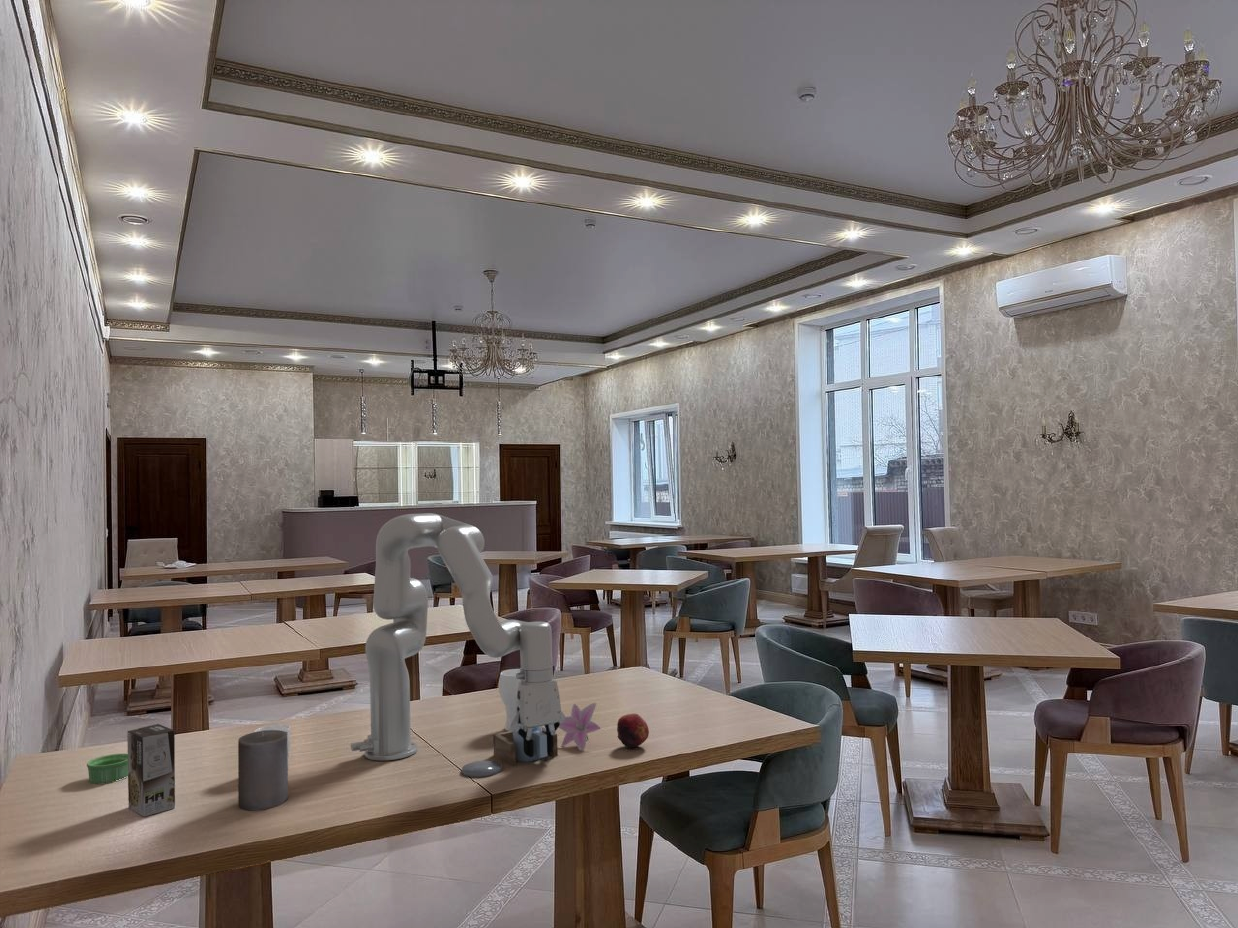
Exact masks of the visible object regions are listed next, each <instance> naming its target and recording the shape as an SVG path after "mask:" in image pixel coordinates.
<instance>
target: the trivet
mask: <svg viewBox="0 0 1238 928" xmlns="http://www.w3.org/2000/svg"><path fill="white" fill-rule="evenodd" d="M502 765H503V764H501V762H499V761H495V760H478V761H477V760H475V761H472V762H469V763H466V764H465V765H463V766H462V768H461V773H462V775H464V776H465V777H469V778H484V777H485V778H486V777H491V776H494V775H495V776H496V775H497V774H499V773H501V772H502V770H503V766H502Z"/></svg>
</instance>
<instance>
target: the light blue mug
mask: <svg viewBox="0 0 1238 928" xmlns="http://www.w3.org/2000/svg"><path fill="white" fill-rule="evenodd" d="M518 726H519V728H521V729H522V727H523V726H522V724H519V725H518ZM542 727H543V726H538V727H533V729H532V734H531V739H532V740H533V752H534V756H533V757H529V756H527V755H526V754H525V753H524V741H523V738H522V737H521V736H520V735H519V734H518V733H517V732H515V731H514V730H513V742H514V743H515V761H516V762H524V763H525V762H526V763H527V762H535V761H538V760H540V759H542V758H545V757H546V758H547V757H548V753H547V735H546V734H544V733H542Z"/></svg>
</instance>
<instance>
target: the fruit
mask: <svg viewBox="0 0 1238 928" xmlns="http://www.w3.org/2000/svg"><path fill="white" fill-rule="evenodd" d="M616 726H617V727H616V728H617V729H616V731H617V738H618V740H619V741H620V742H621V744H622V745H623V746H625V747H626V748H629V749H631V748H632V749H634V748H637V747H639V746H641V745H642V744H643V743H644V742H646V740H647V739H648V738H649V733H650V730H649V725H648V724H647V722H646V721H645V719H644V718H643V717H642V716H641V715H639V714H638V713H627V714H624V715H622V716H620V717H619V718H618V721H617V725H616Z"/></svg>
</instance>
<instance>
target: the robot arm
mask: <svg viewBox="0 0 1238 928" xmlns="http://www.w3.org/2000/svg"><path fill="white" fill-rule="evenodd" d="M375 541H376V542H375V571H374V586H373V589H374V590H373V609H374V612H375V615H377V616H378V617H379V618H381V620H382V619H383V620H386V621H387V620H389V621H390V620H392V622H391V623H388V624H384V625H381V626H379V627H377V628H376V629H374V630H373V631H372V632H370V633H369V635H368V636H367V639H366V642H365V656H366V661H367V666H368V667H367V668H368V675H369V691H370V692H369V694H370V695H369V699H370V700H369V702H370V735H367V739H364V740H363V741H355V742H351V743H350V750H351V751H352V752H354V751H355V752H356V751H359V753H361V752H364V757H365V758H367V759H368V760H372V761H382V762H383V761H395V760H399V759H404V758H407V757H410V756H412V755H414V754H416V753H417V752H418V745H417V744H416V743H415V742H413V741H412V738H411V734H412V733H411V731H412V730H411V729H412V728H411V687H410V675H409V674H410V673H409V670H408V667H407V665H406V660H405V659H407V658H411V657H413V656H415V655H417V654H418V653H419V652H421V651H422V649H423V647H424V645H425V643H426V639H427V627H428V626H427V625H428V611H429V610H428V608H429V607H428V606H429V596H428V591H427V589H426V587H425V585H424V584H423V583H422V581H420V580H419V579H416V578H414V577H411V570H412V564H411V563H412V562H411V558H410V555H409V551H410V550H411V549H417V548H419V549H420V548H427V547H432V548H435V549H437V551H438V554H439V555H440V557H441V558H442V561H443V563H444V564H445V566H446V569H447V570H448V573H450V576H451V577H452V579H453V581H454V583H455V584H456V586H457V589H459V592H460V593H461V597H462V598H461V599H462V608H463V615H464V619H465V622H466V623H465V624H466V625H467V628H468V630H469V632H470V633H471V636H472V638H473V639H474V640H475V643H476V644H477V646H478V647H479V649H480V650H481V651H482V652H483V653H484V654H485V655H486V656H489V657H490V658H495V659H496V658H497V659H498V658H503V657H504V656H506V655H508V654H511V653H513V652H516V651H519V652H520V656H519V657H520V668H519V669H520V672H519V673H517V674H516V679H520V680H521V682H519V684H518V689H517V696H516V716H515V717H514V719H513V721H512V723H511V725H510V729H512V730H514V731H515V732H517V733H518V734H519V735H520V736H521V737H522V738H523V741H524V753H525V754H526V755H527V756H529V757H533V756H534V752H533V740H532V739H531V734H532V729H533V727H538V726H542V727H543V726H544V728H545V730H546V733H544V734H546V735H547V752H549V753H552V752H553V747H554V743H553V735H555V733H556V732H557V730H558V729H559V725H560V724H561V723H562V722H563V721H564V720H565V719H566V717H567V716H566V715H565V714H564V713H563V711H562V706H561V705H562V704H561V697H560V691H559V685H558V682H557V681H558V680H557V679H556V678H554V672H553V670H554V669H553V636H552V635H553V633H552V632H553V631H552V625H551V624H550V623H549V622H545V621H530V622H529V621H522V620H518V619H506V620H504V621H500V620H499V619H498V616H497V615H496V613H495V612H494V609H493V606H492V604H491V603H492V601H491V597H490V596H491V590H492V586H493V583H494V576H493V574H492V572H491V571H490V569H489V567H488V565H487V563H486V562H485V560H484V558H483V556H482V555H481V554H482V552H483V551H484V548H485V543H486V542H485V538H484V535H483V533H482V532H481V531H480V529H478V527H476V526H474V525H471V524H469V523H465V522H463V521H460V520H456V519H452V518H450V517H447V516H444V515H441V514H438V513H432V512H428V513H427V512H425V513H407V514H402V515H398V516H396V517H393V518H391V519H389V520H388V521H386V522H385V523H384V524H383V525H382V526H381V528H380V529H379V531H378V534H377V537H376V540H375ZM519 724H522V726H523V727H522V729H521V728H519V726H518V725H519Z"/></svg>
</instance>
